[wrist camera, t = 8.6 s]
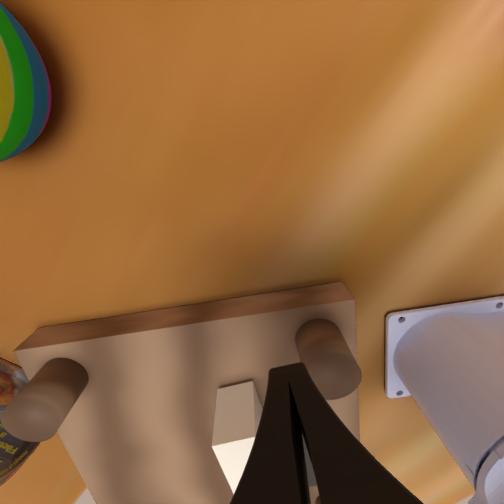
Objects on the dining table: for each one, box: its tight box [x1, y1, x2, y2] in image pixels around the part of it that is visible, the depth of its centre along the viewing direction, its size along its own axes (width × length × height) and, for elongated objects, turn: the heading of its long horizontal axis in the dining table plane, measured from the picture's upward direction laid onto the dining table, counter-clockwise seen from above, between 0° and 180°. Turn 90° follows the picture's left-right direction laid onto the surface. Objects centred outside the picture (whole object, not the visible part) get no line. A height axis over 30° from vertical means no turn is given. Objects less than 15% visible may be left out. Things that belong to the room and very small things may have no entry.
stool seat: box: [1, 282, 361, 504], centre depth 22 cm, size 22×22×6 cm
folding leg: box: [212, 381, 263, 494], centre depth 20 cm, size 15×3×4 cm, turn 15°
